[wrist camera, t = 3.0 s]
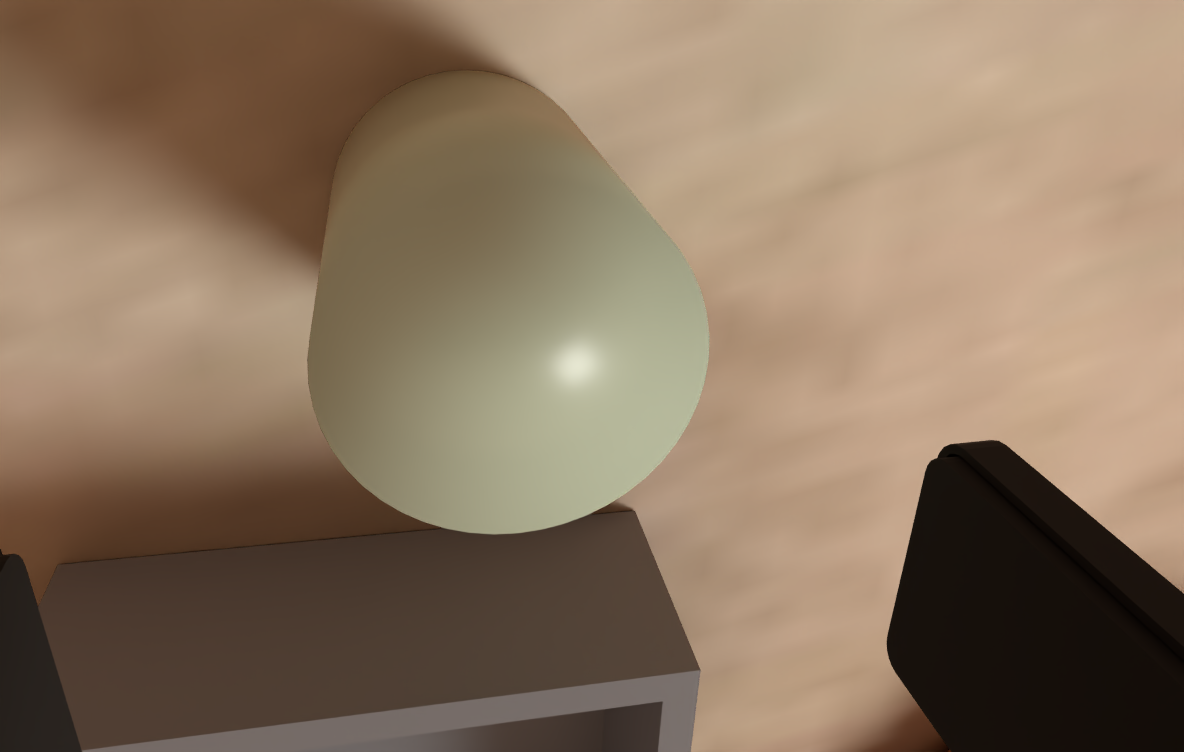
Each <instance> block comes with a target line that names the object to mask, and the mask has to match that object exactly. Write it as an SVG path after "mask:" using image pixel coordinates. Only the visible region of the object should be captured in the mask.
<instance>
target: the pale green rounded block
mask: <svg viewBox="0 0 1184 752" xmlns="http://www.w3.org/2000/svg"><path fill="white" fill-rule="evenodd" d="M708 360H709V328H708V319H707V312H706V308H705V304H704V300H703V297H702V293H701V290H700V287H699V285H698V283H697V280H696V278H695V276H694V273H693V271H692V269H691V267H690V266H689V264H688V262H687V261H686V259H685V257H684V256H683V254H682V252H681V251H680V249H679V248H678V247H677V246H676V244H675V243H674V242H673V241H672V240H671V238H670V237H669V236H668V235H667V234H666V232H665V231H664V230H663V229H662V228H661V226H660V225H659V224H658V223H657V222H656V220H655V219H654V218H653V217H652V216H651V214H650V213H649V212H648V211H647V210H646V208H645V207H644V206H643V205H642V204H641V202H640V201H639V200H638V199H637V198H636V196H635V195H634V194H633V193H632V191H631V190H630V189H629V188H628V187H627V185H626V184H625V183H624V182H623V181H622V179H621V178H620V177H619V176H618V175H617V173H616V172H615V171H614V170H613V169H612V167H611V166H610V165H609V164H608V163H607V161H606V160H605V159H604V158H603V157H602V155H601V154H600V153H599V152H598V151H597V149H596V148H595V147H594V146H593V145H592V143H591V142H590V141H589V140H588V139H587V137H586V136H585V135H584V134H583V133H582V131H581V130H580V129H579V128H578V127H577V125H576V124H575V123H574V122H573V121H572V119H571V118H570V117H569V116H568V115H567V113H566V112H565V111H564V110H563V109H562V108H560V107H559V106H558V105H557V104H556V103H555V102H554V101H553V100H552V99H550V98H549V97H547V96H546V95H544V94H543V93H542V92H540V91H539V90H537V89H535V88H533V87H531V86H529V85H527V84H525V83H523V82H522V81H519V80H516V79H513V78H510V77H508V76H505V75H501V74H496V73H491V72H486V71H474V70H458V71H446V72H441V73H436V74H431V75H428V76H425V77H422V78H419V79H416V80H413V81H411V82H409V83H407V84H405V85H403V86H401V87H399V88H397V89H395V90H394V91H392V92H391V93H389V94H388V95H386V96H385V97H384V98H382V99H381V100H379V101H378V102H377V103H376V104H375V105H374V106H373V107H372V108H371V109H370V110H369V111H368V112H367V113H365V115H364V116H363V117H362V118H361V120H360V121H359V122H358V123H357V125H356V126H355V127H354V129H353V130H352V132H351V134H350V135H349V137H348V139H347V140H346V142H345V144H344V146H343V149H342V151H341V154H340V156H339V158H338V161H337V165H336V169H335V173H334V177H333V182H332V189H331V196H330V203H329V210H328V216H327V223H326V230H325V237H324V244H323V250H322V257H321V264H320V271H319V278H318V285H317V291H316V298H315V305H314V312H313V319H312V325H311V332H310V340H309V350H308V359H307V362H308V384H309V389H310V394H311V399H312V404H313V409H314V411H315V414H316V417H317V420H318V422H319V425H320V428H321V431H322V432H323V434H324V436H325V438H326V440H327V442H328V443H329V445H330V447H331V449H332V451H333V452H334V454H335V455H336V456H337V458H338V459H339V460H340V462H341V463H342V464H343V466H344V467H345V468H346V470H347V471H348V472H349V473H350V474H351V475H352V476H353V477H354V478H355V479H356V480H357V481H358V482H359V483H360V484H361V485H362V486H363V487H364V488H366V489H367V490H368V491H370V492H371V493H372V494H374V495H375V496H376V497H377V498H379V499H380V500H381V501H383V502H385V503H386V504H388V505H390V506H392V507H393V508H395V509H397V510H398V511H400V512H402V513H404V514H406V515H409V516H411V517H413V518H416V519H418V520H420V521H423V522H426V523H429V524H432V525H436V526H439V527H442V528H446V529H451V530H457V531H462V532H468V533H481V534H513V533H523V532H529V531H536V530H542V529H546V528H550V527H554V526H558V525H561V524H565V523H568V522H570V521H573V520H576V519H578V518H581V517H584V516H586V515H588V514H590V513H592V512H594V511H596V510H598V509H600V508H602V507H604V506H606V505H608V504H610V503H611V502H613V501H615V500H616V499H618V498H619V497H621V496H622V495H624V494H626V493H627V492H628V491H630V490H631V489H632V488H633V487H635V486H636V485H637V484H638V483H640V482H641V481H642V480H643V479H645V478H646V477H647V476H648V475H649V474H650V473H651V472H652V471H653V470H654V469H655V468H656V467H657V466H658V465H659V464H660V463H661V462H662V461H663V460H664V458H665V457H666V456H667V454H668V453H669V452H670V451H671V449H672V448H673V447H674V446H675V444H676V443H677V441H678V440H679V438H680V437H681V435H682V433H683V432H684V430H685V429H686V427H687V425H688V424H689V421H690V419H691V417H692V415H693V413H694V411H695V408H696V406H697V404H698V401H699V398H700V395H701V392H702V389H703V385H704V382H705V377H706V371H707V365H708Z"/></svg>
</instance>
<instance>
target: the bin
mask: <svg viewBox="0 0 1184 752" xmlns="http://www.w3.org/2000/svg"><path fill="white" fill-rule="evenodd" d="M38 609H39V612H40V615H41V619H42V622H43V625H44V629H45V632H46V635H47V638H48V642H49V645H50V648H51V652H52V655H53V658H54V661H55V665H56V668H57V671H58V674H59V678H60V681H61V684H62V688H63V691H64V694H65V697H66V701H67V704H68V707H69V711H70V714H71V717H72V720H73V724H74V727H75V730H76V733H77V737H78V740H79V743H80V747H81V750H82V752H691V745H692V736H693V728H694V720H695V711H696V703H697V695H698V687H699V678H700V668H699V665H698V663H697V661H696V658H695V656H694V653H693V651H692V648H691V646H690V644H689V641H688V639H687V636H686V634H685V631H684V629H683V627H682V624H681V622H680V619H679V617H678V614H677V612H676V610H675V607H674V605H673V602H672V600H671V597H670V595H669V593H668V590H667V588H666V585H665V583H664V580H663V578H662V576H661V573H660V571H659V568H658V566H657V563H656V561H655V559H654V556H653V554H652V551H651V549H650V546H649V544H648V542H647V539H646V537H645V534H644V532H643V529H642V527H641V525H640V522H639V520H638V517H637V515H636V512H635V511H626V512H616V513H605V514H594V515H586V516H584V517H581V518H578V519H576V520H573V521H570V522H568V523H565V524H561V525H558V526H554V527H550V528H546V529H542V530H536V531H529V532H523V533H513V534H481V533H468V532H462V531H457V530H451V529H446V528H445V529H434V530H423V531H413V532H402V533H391V534H381V535H370V536H359V537H348V538H338V539H327V540H316V541H306V542H295V543H284V544H274V545H263V546H252V547H242V548H231V549H220V550H209V551H199V552H188V553H177V554H167V555H156V556H145V557H135V558H124V559H113V560H103V561H92V562H81V563H71V564H60V565H58V566H57V568H56V570H55V572H54V574H53V576H52V578H51V580H50V583H49V585H48V587H47V589H46V591H45V593H44V595H43V597H42V600H41V602H40V604H39V606H38Z"/></svg>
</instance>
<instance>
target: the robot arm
mask: <svg viewBox="0 0 1184 752" xmlns="http://www.w3.org/2000/svg"><path fill="white" fill-rule="evenodd" d="M887 652H888V656H889V660H890V662H891V665H892V667H893V669H894V671H895V672H896V674H897V675H898V677H899V678H900V680H901V681H902V682H903V684H904V685H905V687H906V688H907V689H908V691H909V692H910V694H911V695H912V697H913V698H914V699H915V701H916V702H917V704H918V705H919V707H920V708H921V709H922V711H923V712H924V714H925V715H926V717H927V718H928V719H929V721H930V722H931V724H932V725H933V727H934V728H935V729H936V731H937V732H938V734H939V735H940V736H941V738H942V739H943V741H944V742H945V744H946V745H947V746H948V748H949V749H950V751H951V752H1184V594H1183V593H1182V592H1181V591H1180V590H1179V589H1177V588H1176V587H1175V586H1174V585H1173V584H1171V583H1170V582H1169V581H1168V580H1167V579H1166V578H1164V577H1163V576H1162V575H1161V574H1160V573H1158V572H1157V571H1156V570H1155V569H1154V568H1152V567H1151V566H1150V565H1149V564H1148V563H1146V562H1145V561H1144V560H1143V559H1142V558H1140V557H1139V556H1138V555H1137V554H1136V553H1134V552H1133V551H1132V550H1131V549H1130V548H1128V547H1127V546H1126V545H1125V544H1124V543H1122V542H1121V541H1120V540H1119V539H1118V538H1116V537H1115V536H1114V535H1113V534H1112V533H1111V532H1109V531H1108V530H1107V529H1106V528H1105V527H1103V526H1102V525H1101V524H1100V523H1099V522H1097V521H1096V520H1095V519H1094V518H1093V517H1091V516H1090V515H1089V514H1088V513H1087V512H1085V511H1084V510H1083V509H1082V508H1081V507H1079V506H1078V505H1077V504H1076V503H1075V502H1073V501H1072V500H1071V499H1070V498H1069V497H1067V496H1066V495H1065V494H1064V493H1063V492H1061V491H1060V490H1059V489H1058V488H1057V487H1056V486H1054V485H1053V484H1052V483H1051V482H1050V481H1048V480H1047V479H1046V478H1045V477H1044V476H1042V475H1041V474H1040V473H1039V472H1038V471H1036V470H1035V469H1034V468H1033V467H1032V466H1030V465H1029V464H1028V463H1027V462H1026V461H1024V460H1023V459H1022V458H1021V457H1020V456H1018V455H1017V454H1016V453H1015V452H1014V451H1012V450H1011V449H1010V448H1009V447H1008V446H1007V445H1005V444H1003V443H1001V442H1000V441H994V440H989V441H979V442H969V443H959V444H950V445H948V446H946V447H944V448H943V449H942V450H941V452H940V453H939V455H938V458H936V459H934V460H931V462H930V463H929V464H928V466H927V469H926V471H925V476H924V480H923V484H922V489H921V493H920V497H919V502H918V506H917V510H916V515H915V519H914V523H913V528H912V532H911V536H910V540H909V545H908V549H907V553H906V558H905V562H904V566H903V571H902V575H901V579H900V584H899V588H898V592H897V597H896V601H895V605H894V610H893V614H892V618H891V623H890V627H889V631H888V636H887ZM0 752H82V750H81V747H80V743H79V740H78V737H77V733H76V730H75V727H74V724H73V720H72V717H71V714H70V711H69V707H68V704H67V701H66V697H65V694H64V691H63V688H62V684H61V681H60V678H59V674H58V671H57V668H56V665H55V661H54V658H53V655H52V652H51V648H50V645H49V642H48V638H47V635H46V632H45V629H44V625H43V622H42V619H41V615H40V612H39V609H38V606H37V602H36V599H35V596H34V593H33V589H32V586H31V583H30V579H29V576H28V573H27V570H26V567H25V564H24V562H23V560H22V558H21V557H20V556H19V555H17V554H8V555H3V554H2V552H1V549H0Z"/></svg>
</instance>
